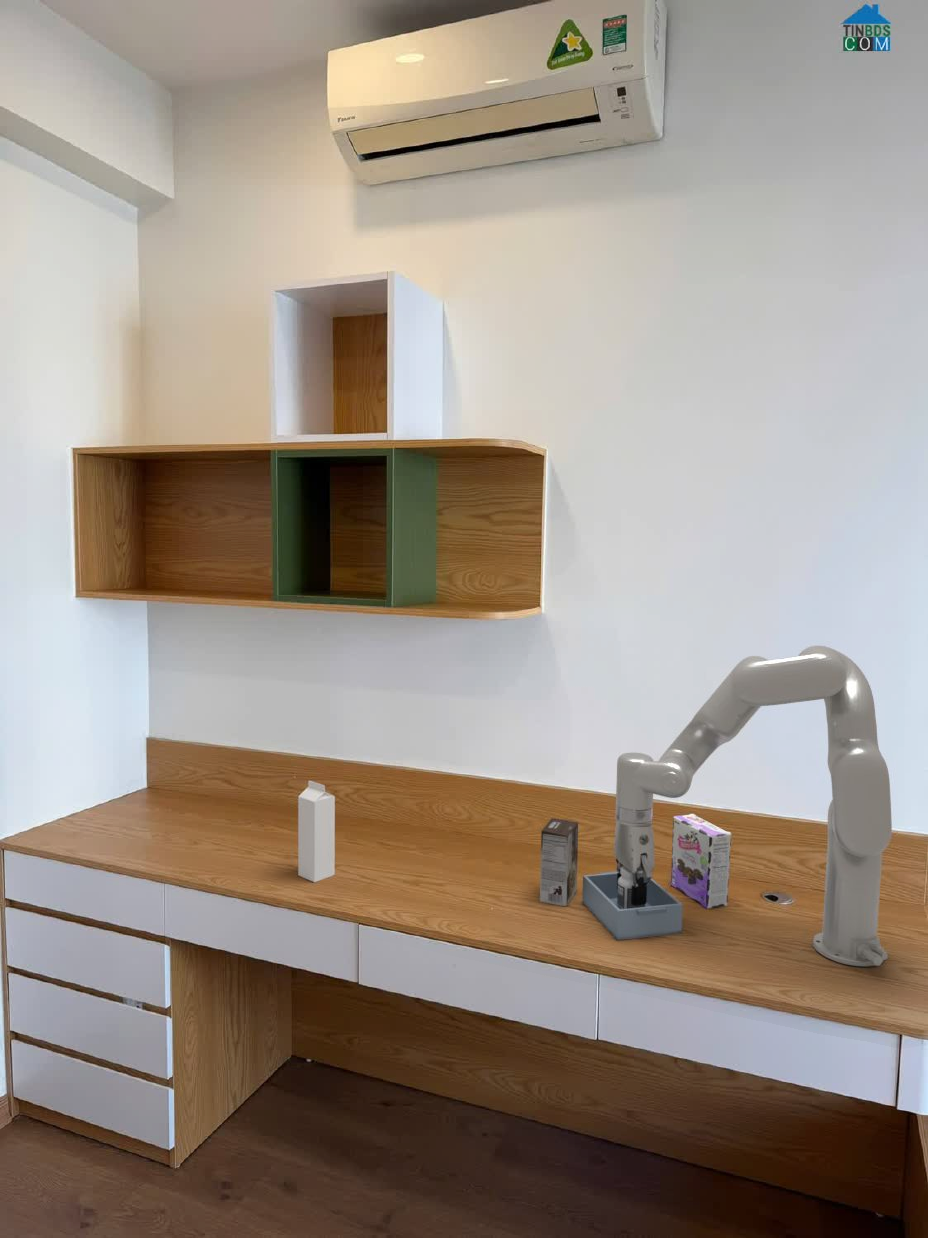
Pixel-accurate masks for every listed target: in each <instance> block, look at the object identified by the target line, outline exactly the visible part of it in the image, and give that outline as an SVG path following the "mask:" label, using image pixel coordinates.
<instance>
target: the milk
mask: <svg viewBox="0 0 928 1238" xmlns="http://www.w3.org/2000/svg"><path fill="white" fill-rule="evenodd" d="M307 783H308V784H307V785H308V786H307V787H306V788H305V790H303V791H302V792H301V793H300V794H299V795H298V798H297V799H298V801H297V803H298V804H297V805H298V807H297V808H298V809H297V811H298V814H297V815H298V819H297V821H298V823H297V825H298V827H297V830H298V834H297V835H298V837H297V838H298V843H297V844H298V845H297V847H298V849H297V851H298V852H297V853H298V855H297V857H298V860H297V861H298V865H297V866H298V869H297V870H298V874H297V875H298V876H300V877H301V878H303V879H306V880H308V881H310V882H313V883H316V882H320V881H322V880H325V879H329V878H330V877H333V876H335V865H336V864H335V862H336V861H335V859H336V858H335V856H336V855H335V854H336V852H335V847H336V846H335V845H336V842H335V837H336V836H335V832H336V831H335V830H336V829H335V828H336V827H335V824H336V823H335V821H336V817H335V813H336V812H335V811H336V804H335V802H336V796H335V795H334V794H332V793H329V792H326V785H324V784H322V783H318V782H315V781H312V780H308V782H307Z"/></svg>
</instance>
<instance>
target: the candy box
mask: <svg viewBox="0 0 928 1238" xmlns="http://www.w3.org/2000/svg"><path fill="white" fill-rule="evenodd" d="M672 817H673V819H672V820H673V821H672V844H671V845H672V846H671V847H672V848H671V871H670V872H671V873H670V885H671V887H674V888H675V889H676V890H678V891H679V892H681V893H683V894H684V895H685V896H687V897H688V898H690V899H692V901H695V902H696V903H697V904H700V905H701V907H704V908H705V909H715V908H722V907H727V906H728V898H729V882H730V881H729V879H730V865H731V850H732V849H731V848H732V847H731V846H732V833H731V832H730V831H726V830H724V829H722V828H721V827H719V826H717V825H715V824H713V823H711V822H710V821H707V820H705V819H703V818H701V816H698V815H696V814H695V813H689V814H682V815H675V816H672Z"/></svg>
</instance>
